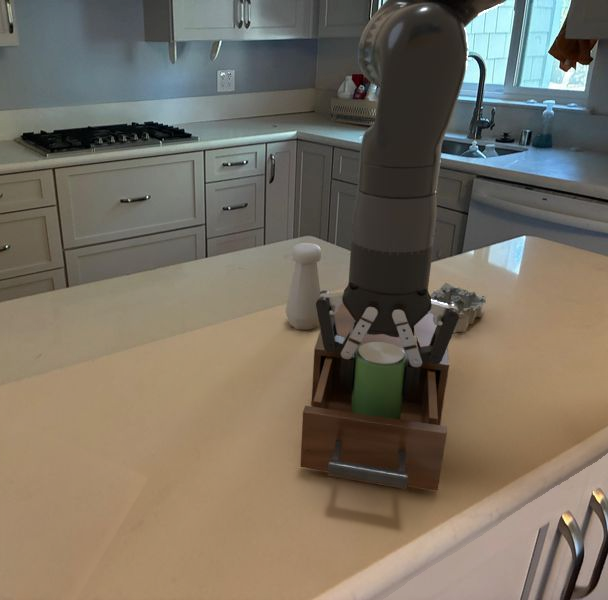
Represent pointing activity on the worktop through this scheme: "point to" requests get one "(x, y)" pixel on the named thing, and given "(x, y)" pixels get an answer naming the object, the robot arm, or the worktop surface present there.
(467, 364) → the worktop surface
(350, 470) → the drawer
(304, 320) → the salt shaker
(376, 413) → the can
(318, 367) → the cabinet
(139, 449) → the worktop surface
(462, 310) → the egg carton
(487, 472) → the worktop surface
